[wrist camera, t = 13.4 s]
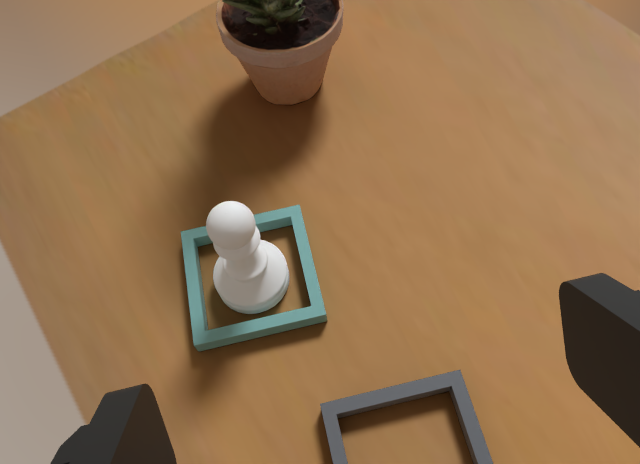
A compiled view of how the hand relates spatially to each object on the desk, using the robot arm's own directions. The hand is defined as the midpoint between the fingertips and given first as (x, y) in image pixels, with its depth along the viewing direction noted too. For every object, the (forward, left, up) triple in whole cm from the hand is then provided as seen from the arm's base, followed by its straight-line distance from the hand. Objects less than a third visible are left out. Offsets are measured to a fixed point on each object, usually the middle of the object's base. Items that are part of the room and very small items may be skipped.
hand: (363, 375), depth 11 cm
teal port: (+4, -15, -25) cm, 29 cm away
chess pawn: (+4, -15, -25) cm, 29 cm away
